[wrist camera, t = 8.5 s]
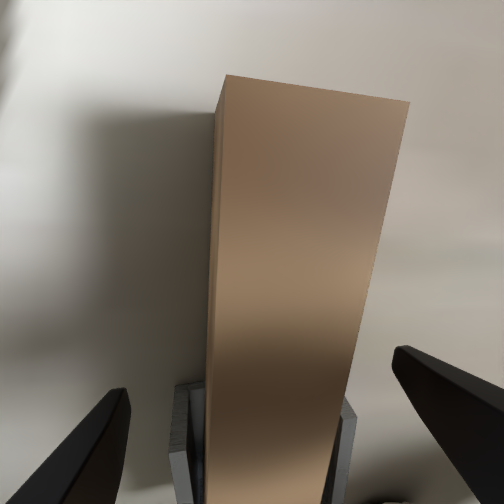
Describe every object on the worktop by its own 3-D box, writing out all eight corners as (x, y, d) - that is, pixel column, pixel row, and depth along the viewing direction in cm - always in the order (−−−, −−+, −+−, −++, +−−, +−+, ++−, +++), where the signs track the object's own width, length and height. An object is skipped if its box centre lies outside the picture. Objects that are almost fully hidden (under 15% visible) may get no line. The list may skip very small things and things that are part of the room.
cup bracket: (315, 453, 16) (340, 517, 13) (188, 480, 15) (186, 557, 12) (324, 362, 13) (357, 417, 11) (175, 385, 12) (168, 453, 10)
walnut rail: (279, 456, 14) (307, 559, 11) (202, 466, 14) (203, 581, 10) (328, 126, 10) (409, 101, 6) (214, 112, 9) (226, 74, 5)
